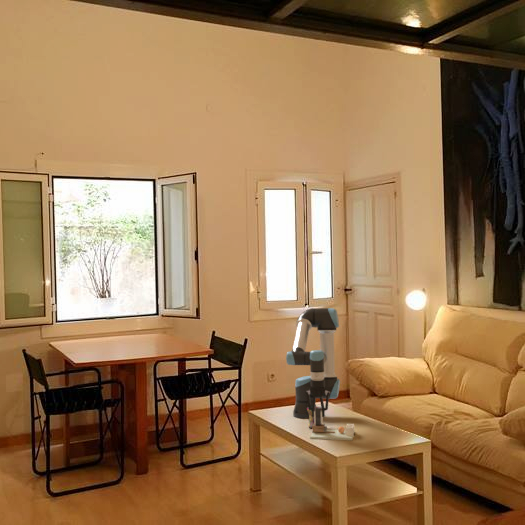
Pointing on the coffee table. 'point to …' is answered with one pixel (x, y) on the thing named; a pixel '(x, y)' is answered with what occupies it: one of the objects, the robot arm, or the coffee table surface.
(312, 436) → the pitch
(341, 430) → the ball
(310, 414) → the mug
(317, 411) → the kicker
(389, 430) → the coffee table surface
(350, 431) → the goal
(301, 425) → the coffee table surface
